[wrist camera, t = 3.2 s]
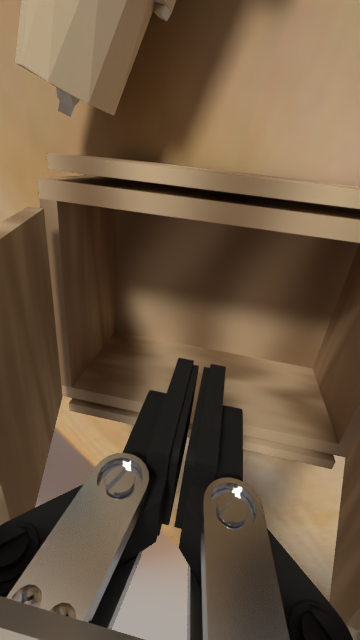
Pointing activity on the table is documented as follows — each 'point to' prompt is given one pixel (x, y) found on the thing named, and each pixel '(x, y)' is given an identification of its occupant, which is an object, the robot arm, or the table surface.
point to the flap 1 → (26, 361)
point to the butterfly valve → (85, 46)
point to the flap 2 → (348, 544)
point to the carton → (209, 295)
